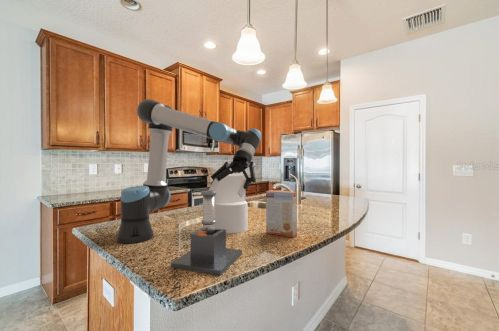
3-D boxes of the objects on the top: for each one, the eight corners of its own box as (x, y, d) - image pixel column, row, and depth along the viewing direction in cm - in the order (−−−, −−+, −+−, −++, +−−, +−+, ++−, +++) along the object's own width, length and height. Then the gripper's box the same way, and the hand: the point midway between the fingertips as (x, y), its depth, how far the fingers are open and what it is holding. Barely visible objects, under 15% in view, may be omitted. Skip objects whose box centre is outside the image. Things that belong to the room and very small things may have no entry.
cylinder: (209, 227, 126) (209, 175, 126) (238, 223, 134) (238, 174, 134) (222, 235, 111) (222, 176, 111) (253, 230, 119) (253, 175, 119)
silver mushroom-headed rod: (198, 256, 80) (198, 191, 80) (206, 251, 85) (205, 190, 85) (211, 258, 78) (211, 192, 78) (218, 252, 83) (218, 190, 83)
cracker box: (297, 234, 111) (297, 191, 111) (292, 238, 106) (292, 192, 106) (271, 230, 119) (271, 189, 119) (265, 233, 114) (265, 190, 114)
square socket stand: (170, 267, 76) (170, 232, 76) (199, 248, 93) (199, 220, 93) (220, 275, 70) (220, 238, 70) (241, 254, 87) (241, 224, 87)
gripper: (272, 161, 98) (256, 202, 85) (224, 162, 110) (203, 197, 97) (267, 148, 93) (249, 189, 80) (217, 150, 105) (194, 186, 92)
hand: (224, 194), depth 89 cm, fingers open, 13 cm apart
